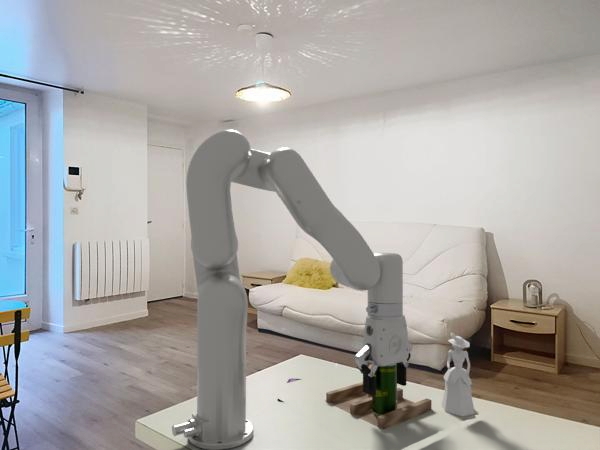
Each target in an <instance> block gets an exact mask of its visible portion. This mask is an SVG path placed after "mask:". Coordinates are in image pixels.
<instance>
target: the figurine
mask: <svg viewBox="0 0 600 450" xmlns="http://www.w3.org/2000/svg"><path fill="white" fill-rule="evenodd" d="M447 342H449V343H450V344H451V346H452V347H453V349H449V350H448V351H447V357H446V358H447V360H446V368H447V371H446V372H445V374H444V375H443V380H444V391H443V392H444V393H443V397H442V401H441V404H440V405H441V407H442V409H443V411H444V412H445V413H447V414H453V415H455V416H456V415H457V416H460V417H464V416H465V417H466V416H470V415H472V416H470V417H467V418H466V419H464V420H463V422H464V421H467V420H473V419H476V413H475V408H474V407H475V406H474V402H473V393H472V387H471V386H472V384H473V382H472V380H471V378H470V370H471V361H470V358H469V353H468V351H467V350H463V349H465V348H470V342H469V341H467V340H466V339H464V337H462V336H459V335H456V334H455V333H454V332H450V339H448V340H447ZM451 359H452V362H453V365H454V366H453V367H450V366H451V365H450V363H451ZM465 360H466V363H467V367H466V369H465V368H464V367H463V364H464V362H465ZM474 414H475V415H474Z"/></svg>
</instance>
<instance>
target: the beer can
mask: <svg viewBox="0 0 600 450" xmlns="http://www.w3.org/2000/svg"><path fill="white" fill-rule="evenodd" d="M372 361H373V360H372ZM373 376H376V395H375V396H372V411H373V413H374V415H376V416H381V415H383V414H386V413H389V412H391V411H394V410H397V388H398V384H397V363H396V364H392V365H389V366H385V367H379V366H378V367H377V369H376V371H375V373H374V375H373Z"/></svg>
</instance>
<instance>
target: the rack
mask: <svg viewBox="0 0 600 450" xmlns="http://www.w3.org/2000/svg"><path fill="white" fill-rule="evenodd" d="M325 395H326V398H325V402H326V403H328V404H330V405H332V406H335V407H336V408H339V409H341V410H343V411H344V412H347V413H348V414H351V415H353V416H355V417H357V418H359V419H361V420H363V421H365V422H367V423H369V424H371V425H373V426H374V427H377V428H379V429H382V430H383V431H384V430H387V429H389V428H392V427H394V426H396V425H398V424H401V423H405V422H407V421H409V420H412V419H414V418H417V417H419V416H421V415H424V414H427V413H429V412H432V411H433V409H432V400H431V399H430V398H425V399H421V400H419V401H416V402H414V401H412V400H409V399H407V398H404V389H403V388H400V387H397V410H394V411H391V412H389V413H386V414H383V415H381V416H376V415H374V413H373V411H372V397H368V394H367V393H365V392H363V381H362V382H358V383H355V384H351V385H348V386H345V387H342V388H338V389H335V390H330V391H328V392H326V393H325Z"/></svg>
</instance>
